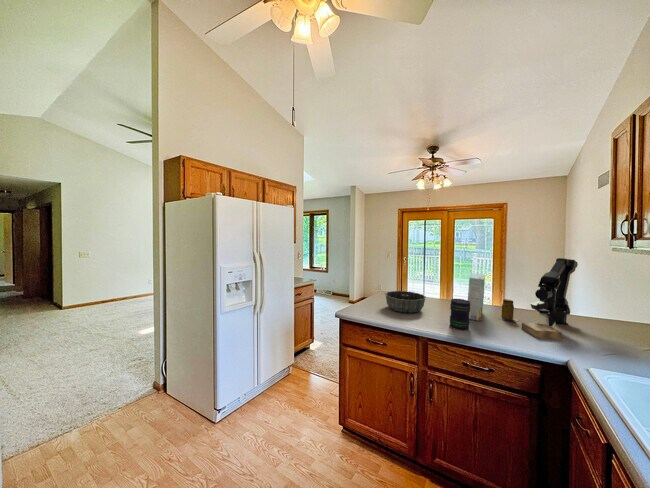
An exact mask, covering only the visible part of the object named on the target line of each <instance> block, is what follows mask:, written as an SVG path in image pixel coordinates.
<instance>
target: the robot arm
mask: <svg viewBox="0 0 650 488" xmlns="http://www.w3.org/2000/svg"><path fill="white" fill-rule="evenodd" d="M578 264H579V263H578V261H576V259H571V258H570V259H569V258H561V257H558V258H556V260H555V263H554V264H553V266H552V267H551V269H550V271H549V272H546V273H544V274H543V275H542V276H541V278H540V280H539V282H538V285H537V287H538V288H539V289H537V290H536V291H535V297H536V298H537V299H539V300H538V301H536V300H535V301H534V302H530V303H529V305H530V307H531V309H532V310H534V311H537V312H538V313H539V314H540V313H544V314H546V315H547V316H548V317H549V326H552V325H553V324H554V323H555V324H556V325H557V324H558V325H569V323H568V322H567V317H568V316H570V315H571V308H570V306H569V302H568V299H567V298H566V296H567V292H568V287H569V282H570V278H571V275H572V274H573V273H574V272H575V271H576V269H577V268H578Z"/></svg>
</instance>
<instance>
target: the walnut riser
mask: <svg viewBox="0 0 650 488" xmlns="http://www.w3.org/2000/svg"><path fill="white" fill-rule="evenodd" d="M521 330H523V331H524V332H526V333H527V334H529V335H530V336H532V337H533V338H535V339H546V340H547V339H548V340H561V341H562V339H563V338H562V337H563V332H562V331H560V330H558V329H556V328H555V329H554V328H552V327H550V326H548V325H546V324H539V323H536V322H535V323H534V322H521Z"/></svg>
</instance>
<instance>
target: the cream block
mask: <svg viewBox="0 0 650 488" xmlns="http://www.w3.org/2000/svg"><path fill="white" fill-rule="evenodd" d="M538 324H546V325H548V326H549V317H548V316H547V315H546V314H544V313H539V322H538ZM550 327H552V328H554V329H556V323H554V324H553V325H552V326H550Z"/></svg>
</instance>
